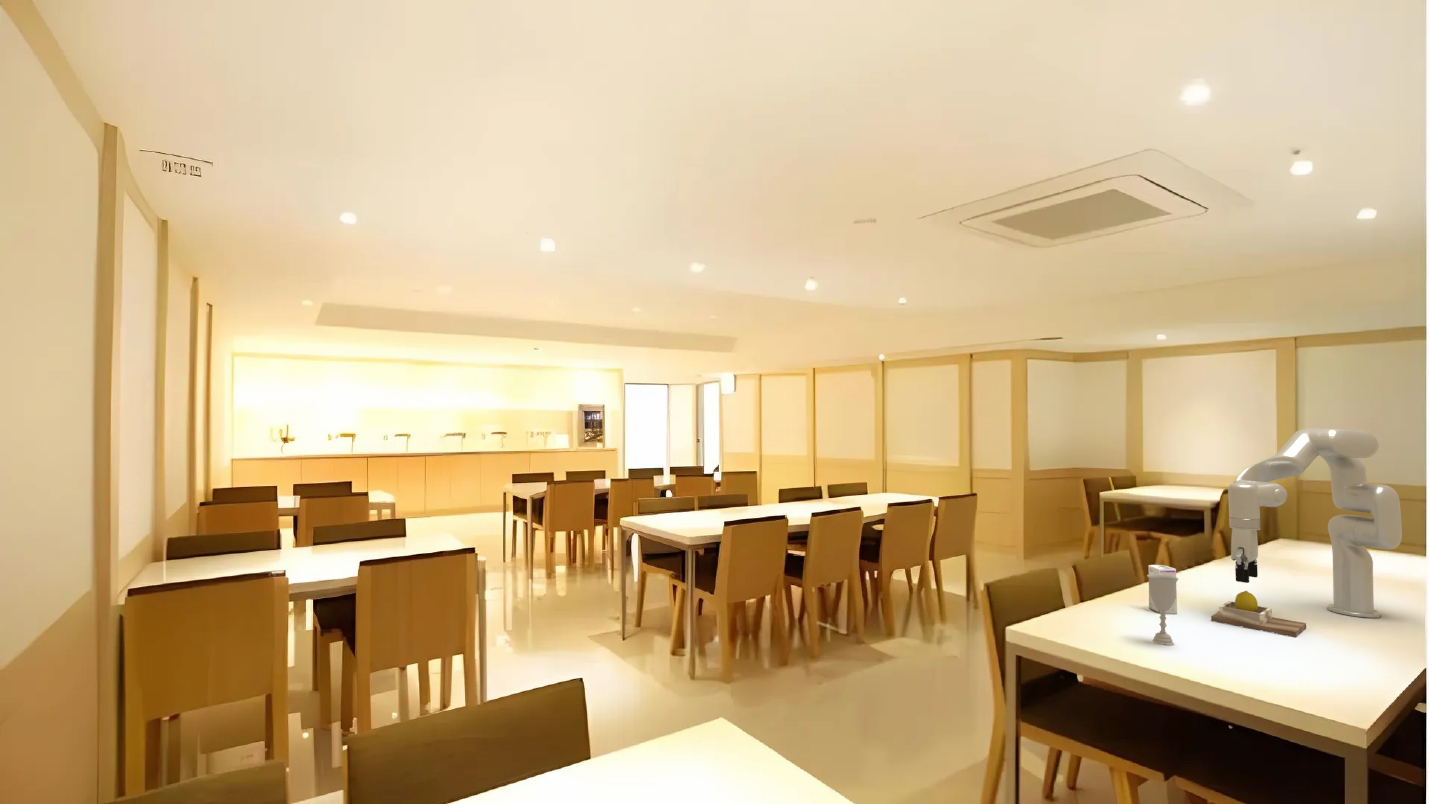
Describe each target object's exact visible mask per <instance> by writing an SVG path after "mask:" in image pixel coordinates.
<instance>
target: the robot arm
mask: <svg viewBox="0 0 1429 804" xmlns="http://www.w3.org/2000/svg"><path fill="white" fill-rule="evenodd" d="M1379 444H1380V443H1379V440H1378V438H1377V437H1376V436H1375V434H1374V433H1372V432H1370V431H1367V430H1355V429H1343V428H1331V427H1327V428H1323V427H1322V428H1321V427H1320V428H1319V427H1306V428H1301V429H1298V430H1297V431H1295V432H1294V433H1293V434H1292V436H1291V437H1290V438H1289V439H1288V440H1287V441H1286V442H1285V444H1284V445H1283V446H1282V447H1281V448H1280V449H1279V450H1278V451H1277V452H1276V453H1275V454H1274V455H1273V456H1271V457H1268V458H1266V459H1263V460H1261V461H1259V462H1256V463H1254V464H1252V465H1251V466H1248V467H1246V469H1244V470H1243V471H1242V472H1240V474H1238V475H1237V477H1236V478H1235V479H1234V481H1233V482H1232V483H1230V484H1229V485H1228V488H1227V496H1228V516H1229V517H1228V520H1229V528H1230V529H1231V539H1230V542H1231V543H1230V544H1231V545H1230V559H1231V560H1232V561H1235V567H1234V568H1235V582H1239V583H1244V584H1248V583H1250V578H1258V573H1259V572H1258V561H1257V559H1258V557H1259V556H1258V555H1259V546H1258V545H1259V542H1258V532H1257V531H1260V530H1261V509H1260V507H1267V508H1275V507H1276V508H1277V507H1279V506H1282V505H1284V504H1285V502H1287V500H1288V492H1287V490H1286V488H1285V487H1284V486H1282V485H1281V484H1278V483H1277V482H1272V481H1276V480H1282V479H1288V478H1293V477H1296V476H1299V475H1302V474H1303V473H1304V472H1305V471H1306V470H1307V468H1309V466H1310V465H1311V464H1312V463H1313V461H1314V460H1315V459H1316V458H1317V457H1318V456H1319V457H1321V458H1322V459H1323V460H1324V461H1325V462H1326V464H1327V466H1328V468H1329V472H1330V482H1331V483H1330V484H1331V496H1332V502H1333V504H1334V506H1335V507H1336V508H1337V509H1338V510H1339V509H1340V510H1342V511H1349V512H1356V513H1363V514H1365V513H1366V514H1371V515H1372V517H1371V516H1365V515H1355V514H1338V515H1337V514H1336V515H1335V516H1334V515H1333V516H1332V518H1330V520H1329V521H1328V524H1327V530H1328V534H1329V539H1330V542H1331V544H1330V545H1331V550H1332V551H1331V552H1332V582H1333V583H1332V585H1333V586H1332V590H1333V591H1332V593H1333V603H1332V604H1331V603H1329V604H1327V605H1326V607H1327V610H1329V611H1330V612H1334V613H1336V614H1340V615H1346V616H1351V617H1358V618H1368V619H1369V618H1370V619H1376V618H1377V619H1378V618H1381V616H1382V613H1381V612H1380V611H1379V610H1376V609H1374V607H1375V603H1374V599H1375V597H1374V560H1373V557H1372V555H1371V554H1370V552H1369V551H1368V549H1367V548H1374V549H1378V550H1379V549H1381V550H1393V549H1396V548H1398V547H1399V546H1400V544H1401V543H1402V538H1403V532H1402V531H1403V527H1402V526H1403V525H1402V514H1401V512H1402V510H1401V501H1400V497H1399V494H1398V493H1397V492H1396V489H1394V488H1393V487H1391V486H1390V485H1386V484H1381V483H1372V482H1371V483H1369V482H1368V478H1367V472H1366V471H1367V470H1366V466H1365V464H1364V463H1363V460H1361V459H1367V458H1371V457H1373V456H1374V455H1375V454H1377V451H1378V449H1379V447H1380V446H1379Z"/></svg>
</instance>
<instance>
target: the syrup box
mask: <svg viewBox="0 0 1429 804" xmlns="http://www.w3.org/2000/svg"><path fill="white" fill-rule="evenodd" d="M1149 574H1160V575H1168V576H1173V577H1177V569H1176V568H1174V567H1172V566H1168V565H1166V564H1165V565H1164V564H1149V565H1148V575H1149ZM1177 592H1178V591H1177V589H1176V598H1175V601H1174V603H1173V605H1172V606H1171V608H1170V609H1169V610H1168V611H1165V615H1177V614H1178V602H1177V601H1178V600H1177V597H1178V596H1177V595H1178V593H1177ZM1148 606H1149V607H1148V609H1149V610H1151V611H1153V612H1155V613H1158V614H1161V611H1160V610H1158V609H1157V608H1156V606H1155V604H1154V602H1153V601H1152V598H1151V596H1150V593H1149V592H1148Z"/></svg>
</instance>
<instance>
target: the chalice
mask: <svg viewBox="0 0 1429 804" xmlns="http://www.w3.org/2000/svg"><path fill="white" fill-rule="evenodd" d="M1146 577H1147V578H1148V594H1149V593H1150V596H1151V598H1152V601H1153V602H1154V604H1155V606H1156V608H1157V609H1158V610H1160V611H1161V613H1160V616H1159V618H1160V622H1159V624H1158V625H1159V627H1160V630H1159V632H1156V633H1155V634H1154V636H1153V639H1152V640H1151V641H1152V642H1153V641H1154V642H1153V643H1155V642H1156V643H1155V644H1157V643H1158V645H1161V644H1166V645H1165V646H1173V645H1172V644H1174V645H1175V643H1174V641H1173V639H1172V636H1171V635H1170V634H1169V633H1167V631H1166V627H1167V623H1166V620H1167V617H1166V614H1165V611H1168V610H1169V609H1170V608H1171V606H1172V605H1173V603H1174V601H1175V598H1176V590H1177V582H1178V580H1179V578H1178V577H1177V576H1176V577H1173V576H1168V575H1160V574H1149V573H1148V574H1147V575H1146Z"/></svg>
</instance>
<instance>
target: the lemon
mask: <svg viewBox="0 0 1429 804" xmlns="http://www.w3.org/2000/svg"><path fill="white" fill-rule="evenodd" d="M1234 599H1235V600H1234V602H1235V606H1236V609H1239V610H1245V611H1250V612H1256V611H1257V609H1258V606H1259V605H1258V604H1259V603H1258V599H1257V598H1256V597H1255V595H1254V594H1252V593H1251V592H1249V591H1248V590H1244V591H1241V592H1239V593H1237V595H1235V598H1234Z"/></svg>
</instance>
